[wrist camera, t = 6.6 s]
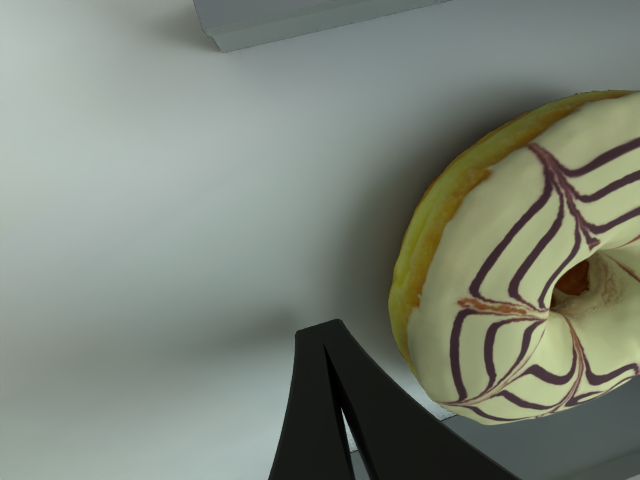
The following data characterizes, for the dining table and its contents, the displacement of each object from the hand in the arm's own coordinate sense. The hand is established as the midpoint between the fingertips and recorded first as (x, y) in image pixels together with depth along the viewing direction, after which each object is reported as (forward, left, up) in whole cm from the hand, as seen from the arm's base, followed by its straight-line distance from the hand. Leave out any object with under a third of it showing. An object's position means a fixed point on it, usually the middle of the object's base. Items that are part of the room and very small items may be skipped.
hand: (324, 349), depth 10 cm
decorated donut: (0, -8, -2) cm, 8 cm away
